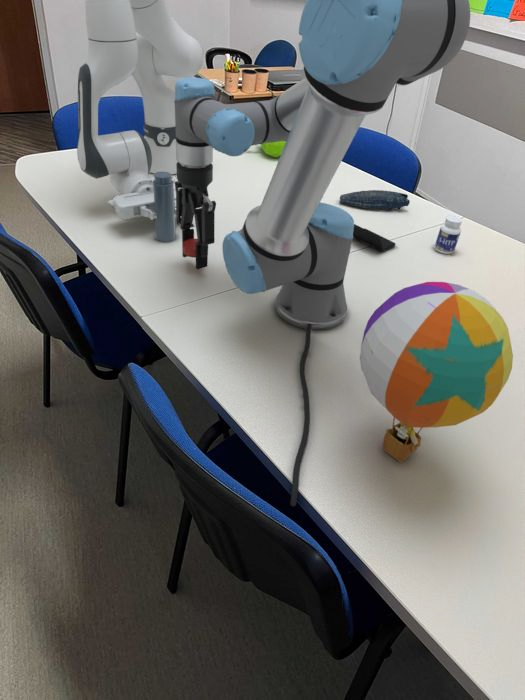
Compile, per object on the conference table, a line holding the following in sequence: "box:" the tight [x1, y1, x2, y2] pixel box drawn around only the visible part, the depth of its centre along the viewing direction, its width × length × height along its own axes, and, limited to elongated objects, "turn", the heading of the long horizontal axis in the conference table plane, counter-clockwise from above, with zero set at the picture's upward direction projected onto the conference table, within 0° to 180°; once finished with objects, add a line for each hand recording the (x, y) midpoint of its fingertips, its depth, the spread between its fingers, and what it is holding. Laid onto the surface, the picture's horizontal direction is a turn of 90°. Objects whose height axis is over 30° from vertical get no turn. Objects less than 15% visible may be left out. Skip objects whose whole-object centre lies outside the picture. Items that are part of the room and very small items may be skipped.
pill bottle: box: [434, 215, 463, 255], centre depth 137 cm, size 5×5×9 cm
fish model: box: [339, 189, 411, 211], centre depth 158 cm, size 7×21×5 cm, turn 84°
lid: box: [183, 237, 198, 259], centre depth 119 cm, size 6×6×2 cm
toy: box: [359, 281, 514, 463], centre depth 73 cm, size 20×20×30 cm
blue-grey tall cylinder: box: [153, 172, 176, 243], centre depth 129 cm, size 5×5×16 cm
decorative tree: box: [260, 141, 286, 158], centre depth 188 cm, size 18×10×30 cm
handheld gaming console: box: [353, 223, 396, 253], centre depth 138 cm, size 12×7×10 cm
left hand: (166, 214), depth 129 cm, fingers closed on blue-grey tall cylinder, 5 cm apart
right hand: (194, 261), depth 122 cm, fingers closed on lid, 5 cm apart
